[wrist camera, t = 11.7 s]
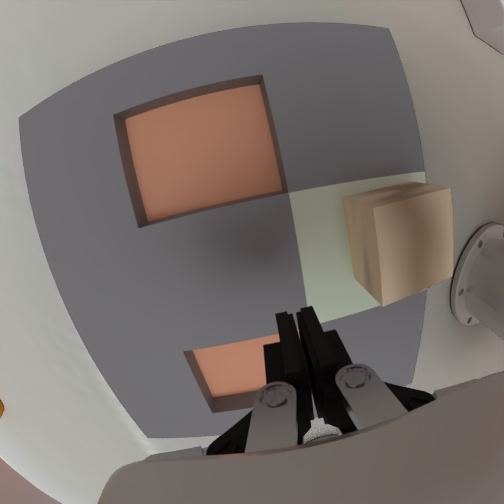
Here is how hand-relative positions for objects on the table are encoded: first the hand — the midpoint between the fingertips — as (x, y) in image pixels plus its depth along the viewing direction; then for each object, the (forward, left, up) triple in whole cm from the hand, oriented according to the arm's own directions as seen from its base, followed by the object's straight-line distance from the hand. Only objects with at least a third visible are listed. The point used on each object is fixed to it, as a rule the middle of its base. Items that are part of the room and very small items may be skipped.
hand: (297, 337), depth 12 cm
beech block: (-9, -2, -7) cm, 11 cm away
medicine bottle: (-34, -24, -10) cm, 43 cm away
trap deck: (+2, 0, -10) cm, 10 cm away
